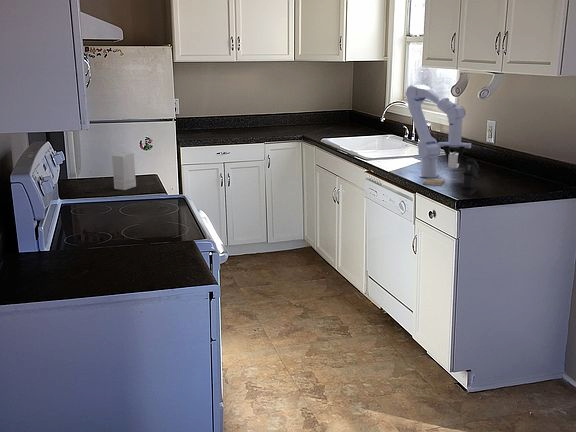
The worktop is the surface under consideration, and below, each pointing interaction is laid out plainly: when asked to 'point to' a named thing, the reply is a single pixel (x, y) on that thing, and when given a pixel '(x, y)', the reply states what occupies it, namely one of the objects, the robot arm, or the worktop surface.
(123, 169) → the skincare box
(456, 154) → the housing
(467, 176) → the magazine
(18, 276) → the worktop surface
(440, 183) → the stand
